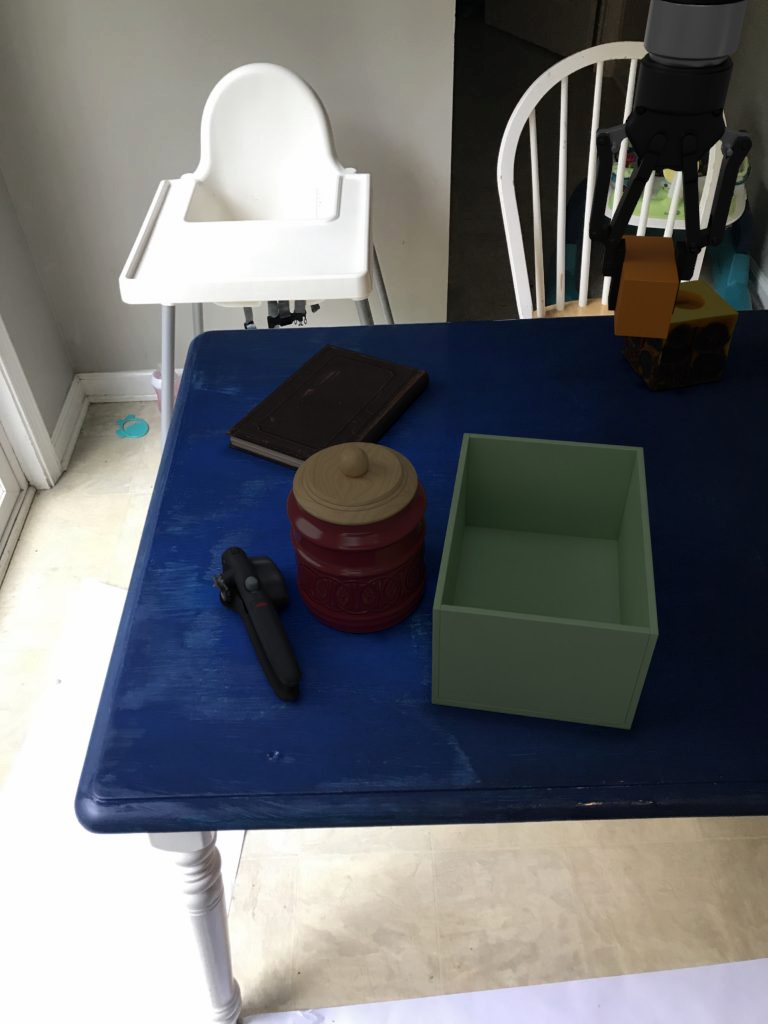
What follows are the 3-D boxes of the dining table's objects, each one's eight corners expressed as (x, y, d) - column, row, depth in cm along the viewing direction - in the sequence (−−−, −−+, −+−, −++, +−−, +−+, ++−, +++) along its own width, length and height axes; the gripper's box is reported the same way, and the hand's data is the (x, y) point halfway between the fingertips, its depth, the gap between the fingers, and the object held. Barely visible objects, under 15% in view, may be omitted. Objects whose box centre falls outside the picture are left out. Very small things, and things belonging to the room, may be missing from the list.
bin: (621, 542, 88) (643, 447, 79) (630, 729, 71) (658, 634, 63) (459, 526, 91) (463, 432, 82) (431, 703, 74) (432, 608, 65)
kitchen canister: (387, 656, 78) (381, 517, 66) (273, 607, 83) (249, 470, 71) (447, 567, 86) (452, 430, 74) (341, 528, 91) (329, 393, 79)
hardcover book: (228, 447, 103) (225, 432, 101) (328, 357, 117) (327, 343, 116) (338, 485, 96) (337, 470, 95) (429, 386, 111) (429, 371, 109)
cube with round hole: (650, 393, 108) (665, 325, 102) (618, 353, 116) (630, 287, 109) (722, 382, 110) (742, 314, 103) (686, 343, 117) (702, 277, 110)
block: (661, 290, 89) (672, 237, 85) (666, 338, 82) (679, 282, 78) (613, 288, 90) (622, 234, 86) (614, 335, 83) (624, 279, 78)
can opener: (210, 583, 86) (200, 544, 82) (275, 564, 87) (268, 525, 83) (254, 720, 73) (245, 681, 69) (329, 694, 75) (324, 655, 71)
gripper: (794, 44, 71) (727, 293, 87) (579, 41, 74) (552, 284, 89) (810, 68, 65) (736, 330, 81) (578, 65, 68) (549, 318, 84)
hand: (640, 305), depth 85 cm, fingers closed on block, 5 cm apart
